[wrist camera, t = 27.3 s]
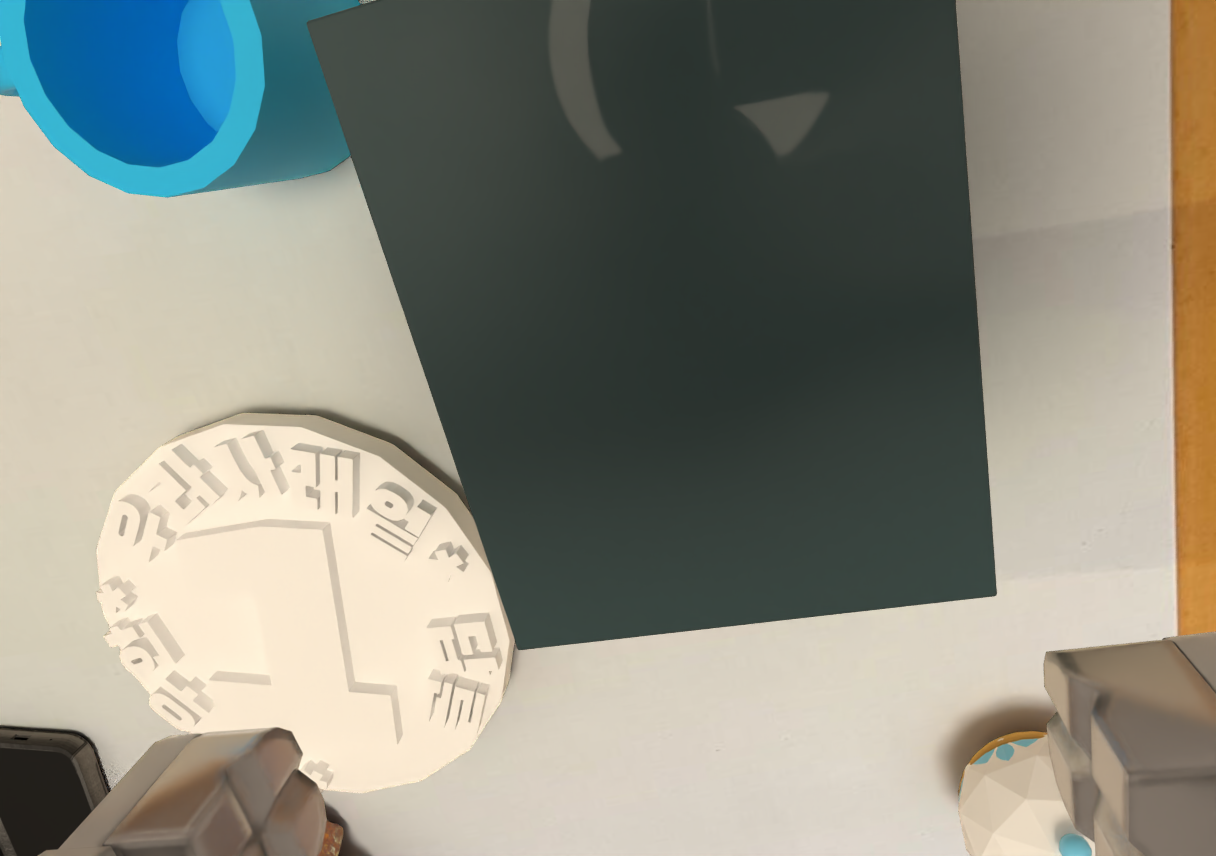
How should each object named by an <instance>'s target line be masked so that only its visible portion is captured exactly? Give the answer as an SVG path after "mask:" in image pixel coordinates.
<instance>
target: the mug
mask: <svg viewBox="0 0 1216 856" xmlns="http://www.w3.org/2000/svg"><path fill="white" fill-rule="evenodd" d="M359 5H360V3H359V1H358V0H0V40H1V46H0V95H5V96H19V97H20V98H21V101H22V103H23V105H24V107H25V109H26V110H27V112H28V113H29V114H30V116H31V117H32V118H33V120H34V121H35V122H36V124H37V125H38V126H39V128H40V129H41V130H42V132H43V133H44V134H45V136H46V137H47V138H48V140H49V141H50V142H51V144H52V145H53V146H54V147H55V148H56V149H57V150H59V151H60V152H61V153H62V154H63V155H65V156H66V157H67V158H68V159H69V160H71V161H72V162H73V163H74V164H76V165H77V166H78V167H79V168H80V169H82V170H83V171H84V172H85V173H86V174H88V175H89V176H91V177H93V178H95V179H98V180H100V181H102V182H104V183H106V184H109V185H111V186H113V187H115V188H118V189H120V190H122V191H124V192H127V193H131V194H140V195H149V196H159V197H174V196H181V195H188V194H195V193H202V192H209V191H216V190H223V189H230V188H236V187H243V186H250V185H257V184H264V183H271V182H278V181H285V180H292V179H299V178H304V177H308V176H311V175H315V174H319V173H323V172H327V171H330V170H331V169H333V168H334V167H335V166H337V165H338V164H340V163H341V162H342V161H344V160H345V159H347V158H348V157H349V156H351V155H350V152H349V149H348V146H347V143H346V140H345V137H344V134H343V131H342V128H341V125H340V122H339V119H338V116H337V113H336V110H335V107H334V104H333V101H332V98H331V95H330V93H329V90H328V87H327V84H326V81H325V78H324V75H323V72H322V69H321V66H320V63H319V60H318V57H317V54H316V51H315V48H314V45H313V42H312V39H311V36H310V33H309V30H308V28H307V22H308V21H310V20H313V19H316V18H319V17H323V16H326V15H329V14H333V13H336V12H339V11H342V10H346V9H349V8H352V7H356V6H359Z"/></svg>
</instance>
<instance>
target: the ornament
mask: <svg viewBox="0 0 1216 856" xmlns="http://www.w3.org/2000/svg"><path fill="white" fill-rule="evenodd" d="M958 795H959V811H958V812H959V817H960V821H961V826H962V831H963V836H964V841H965V845H966V850H967V852H968V853H969V854H970V855H971V856H1095V843H1094V842H1093V841H1092V840H1090V839H1089V838H1087V837H1086V836H1084V835H1083V834H1081V833H1080V832H1079V831H1077V830H1076V829H1075V827H1074V825H1073V823H1072V821H1071V819H1070V817H1069V814H1068V812H1067V810H1066V808H1065V806H1064V803H1063V800H1062V798H1061V795H1060V792H1059V790H1058V787H1057V784H1056V781H1055V776H1054V772H1053V767H1052V763H1051V759H1050V754H1049V745H1048V735H1047V733H1045V732H1037V731H1027V732H1015V733H1012V734H1008V735H1005V736H1001V737H999V738H997V739H995V740H993V741H991V742H989V743H988V744H986V745H985V746H984V747H983V748H982V749H981V750H979V751H978V752H977V753H976V754H975V755H974V756H973V757H972V759H971V760H970V762H969V763H968V765H967V766H966V767H965V770H964V771H963V774H962V777H961V781H960V785H959V790H958Z"/></svg>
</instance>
